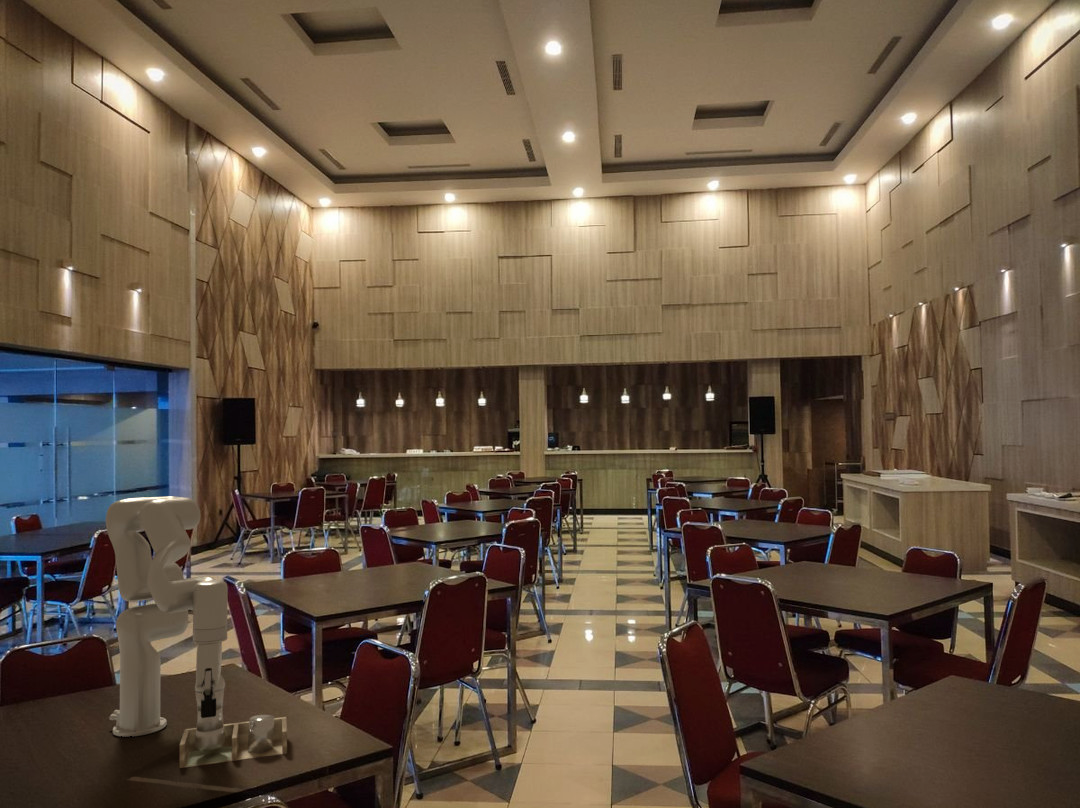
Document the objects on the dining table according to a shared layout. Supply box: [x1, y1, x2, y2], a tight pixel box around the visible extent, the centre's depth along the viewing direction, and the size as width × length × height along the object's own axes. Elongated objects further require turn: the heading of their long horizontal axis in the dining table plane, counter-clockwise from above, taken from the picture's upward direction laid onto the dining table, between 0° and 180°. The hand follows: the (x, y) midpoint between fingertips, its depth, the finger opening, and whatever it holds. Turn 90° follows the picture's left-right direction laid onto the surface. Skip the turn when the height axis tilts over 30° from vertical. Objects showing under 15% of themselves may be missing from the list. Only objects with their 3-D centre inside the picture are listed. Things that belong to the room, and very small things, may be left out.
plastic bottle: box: [194, 673, 226, 751], centre depth 185 cm, size 6×7×20 cm
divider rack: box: [179, 716, 288, 769], centre depth 187 cm, size 23×11×6 cm, turn 109°
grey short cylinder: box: [248, 714, 275, 753], centre depth 188 cm, size 6×6×7 cm
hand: (209, 711), depth 185 cm, fingers closed on plastic bottle, 6 cm apart
